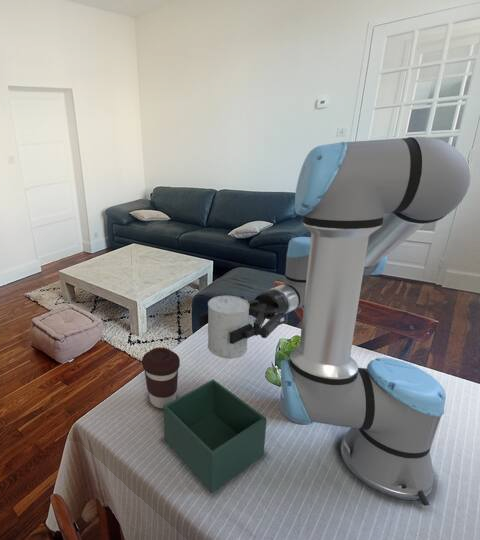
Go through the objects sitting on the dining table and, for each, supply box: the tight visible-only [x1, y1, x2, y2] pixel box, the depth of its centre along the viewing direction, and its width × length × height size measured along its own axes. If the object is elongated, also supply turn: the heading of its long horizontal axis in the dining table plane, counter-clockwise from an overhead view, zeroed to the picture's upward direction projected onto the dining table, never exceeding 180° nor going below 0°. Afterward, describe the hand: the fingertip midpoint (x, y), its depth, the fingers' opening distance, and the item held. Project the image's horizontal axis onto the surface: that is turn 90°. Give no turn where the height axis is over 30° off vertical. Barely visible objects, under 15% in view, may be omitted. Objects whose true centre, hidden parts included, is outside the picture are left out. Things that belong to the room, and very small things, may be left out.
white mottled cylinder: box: [207, 295, 249, 360], centre depth 83 cm, size 10×10×12 cm
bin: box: [162, 379, 268, 494], centre depth 76 cm, size 16×16×11 cm
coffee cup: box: [141, 346, 181, 409], centre depth 91 cm, size 10×10×15 cm
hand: (214, 329), depth 81 cm, fingers closed on white mottled cylinder, 9 cm apart
